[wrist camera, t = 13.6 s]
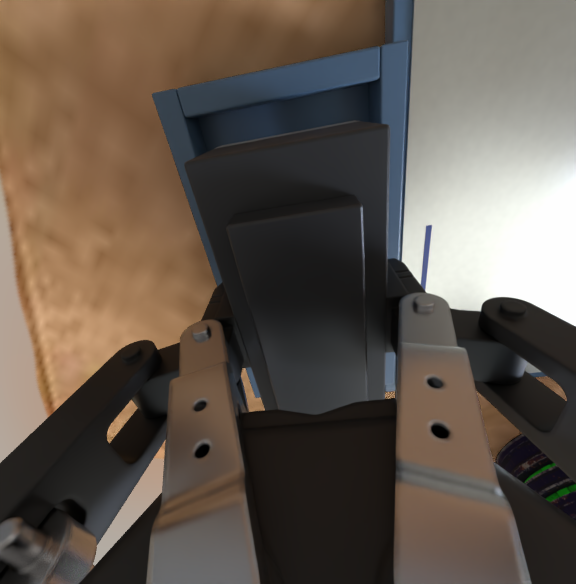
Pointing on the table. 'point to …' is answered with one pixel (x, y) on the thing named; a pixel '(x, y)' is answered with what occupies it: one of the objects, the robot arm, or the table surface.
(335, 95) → the eraser holder
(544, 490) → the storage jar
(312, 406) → the eraser
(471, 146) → the whiteboard
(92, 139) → the table surface
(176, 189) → the table surface
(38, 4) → the table surface
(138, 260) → the table surface
